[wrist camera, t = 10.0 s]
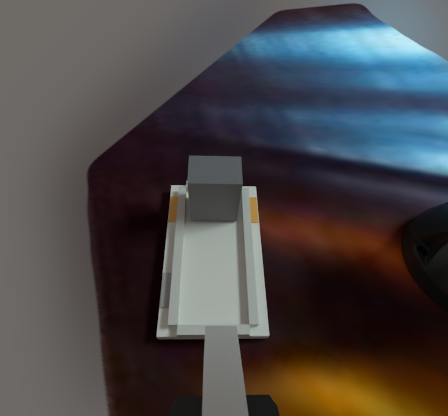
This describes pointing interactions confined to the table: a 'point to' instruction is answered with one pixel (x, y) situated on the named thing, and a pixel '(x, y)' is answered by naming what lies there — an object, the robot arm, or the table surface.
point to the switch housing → (212, 272)
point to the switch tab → (214, 187)
